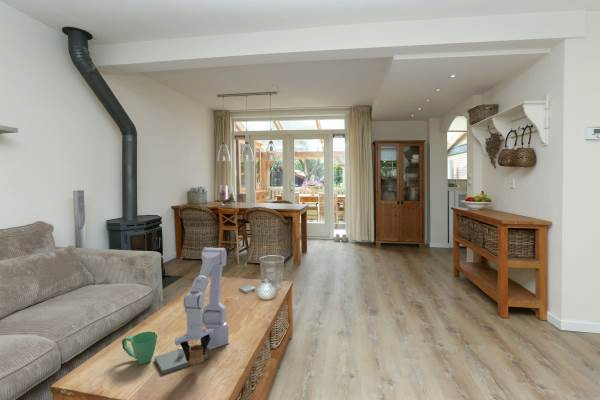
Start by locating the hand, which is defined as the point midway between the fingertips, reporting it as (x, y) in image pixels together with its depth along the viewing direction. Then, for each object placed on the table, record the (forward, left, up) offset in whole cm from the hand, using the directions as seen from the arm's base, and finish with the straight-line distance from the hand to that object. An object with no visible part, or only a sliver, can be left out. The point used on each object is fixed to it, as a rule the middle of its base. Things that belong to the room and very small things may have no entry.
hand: (195, 356), depth 126 cm
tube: (0, 0, -2) cm, 2 cm away
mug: (+16, -21, -6) cm, 27 cm away
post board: (+2, -11, -6) cm, 12 cm away
